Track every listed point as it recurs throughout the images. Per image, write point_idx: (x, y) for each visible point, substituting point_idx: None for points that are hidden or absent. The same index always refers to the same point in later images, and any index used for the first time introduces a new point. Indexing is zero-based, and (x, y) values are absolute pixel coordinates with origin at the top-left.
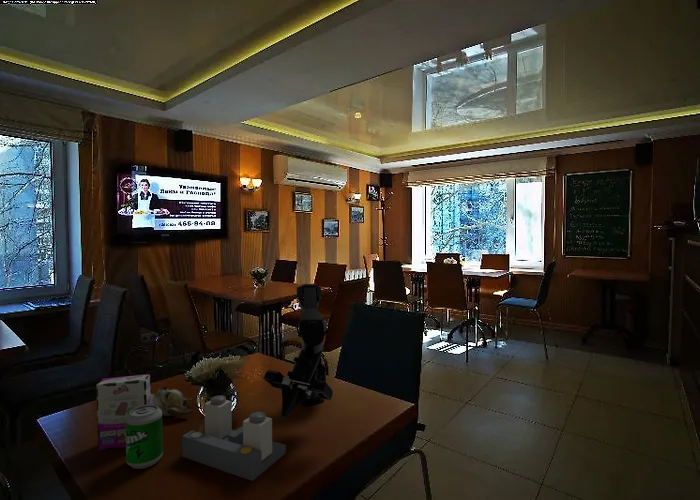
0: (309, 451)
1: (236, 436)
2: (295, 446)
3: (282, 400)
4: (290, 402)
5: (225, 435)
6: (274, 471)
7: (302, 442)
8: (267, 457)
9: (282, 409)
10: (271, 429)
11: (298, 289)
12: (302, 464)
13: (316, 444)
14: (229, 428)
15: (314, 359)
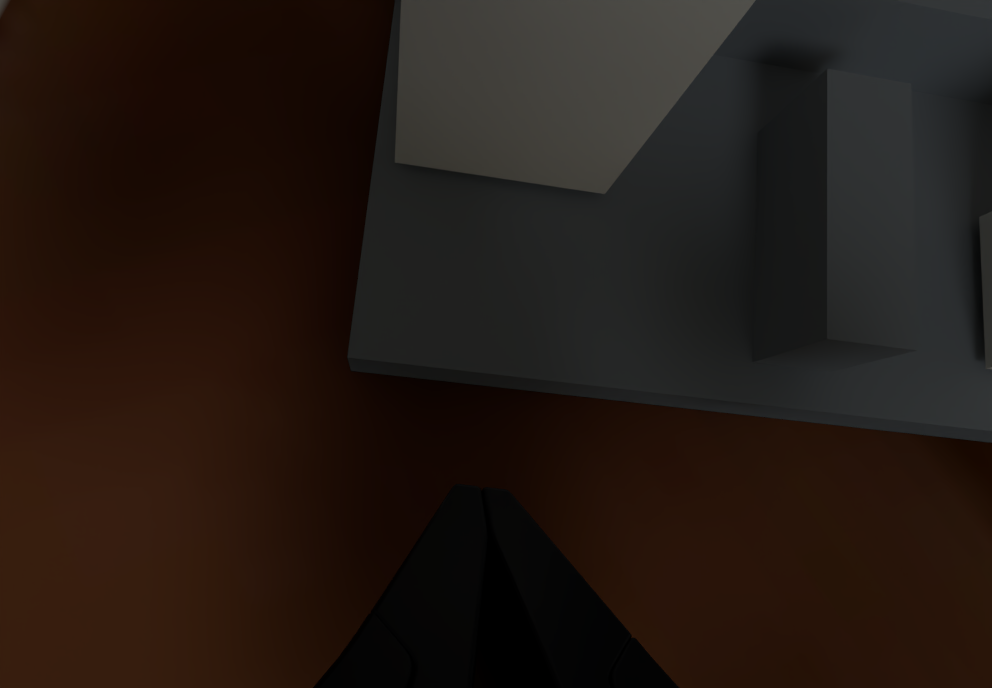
0: (127, 484)
1: (822, 97)
2: (316, 518)
3: (624, 633)
4: (380, 613)
5: (988, 283)
6: (307, 96)
7: (278, 621)
8: None
9: (537, 533)
10: (402, 3)
11: None
12: (106, 256)
13: (104, 645)
14: None
15: None
